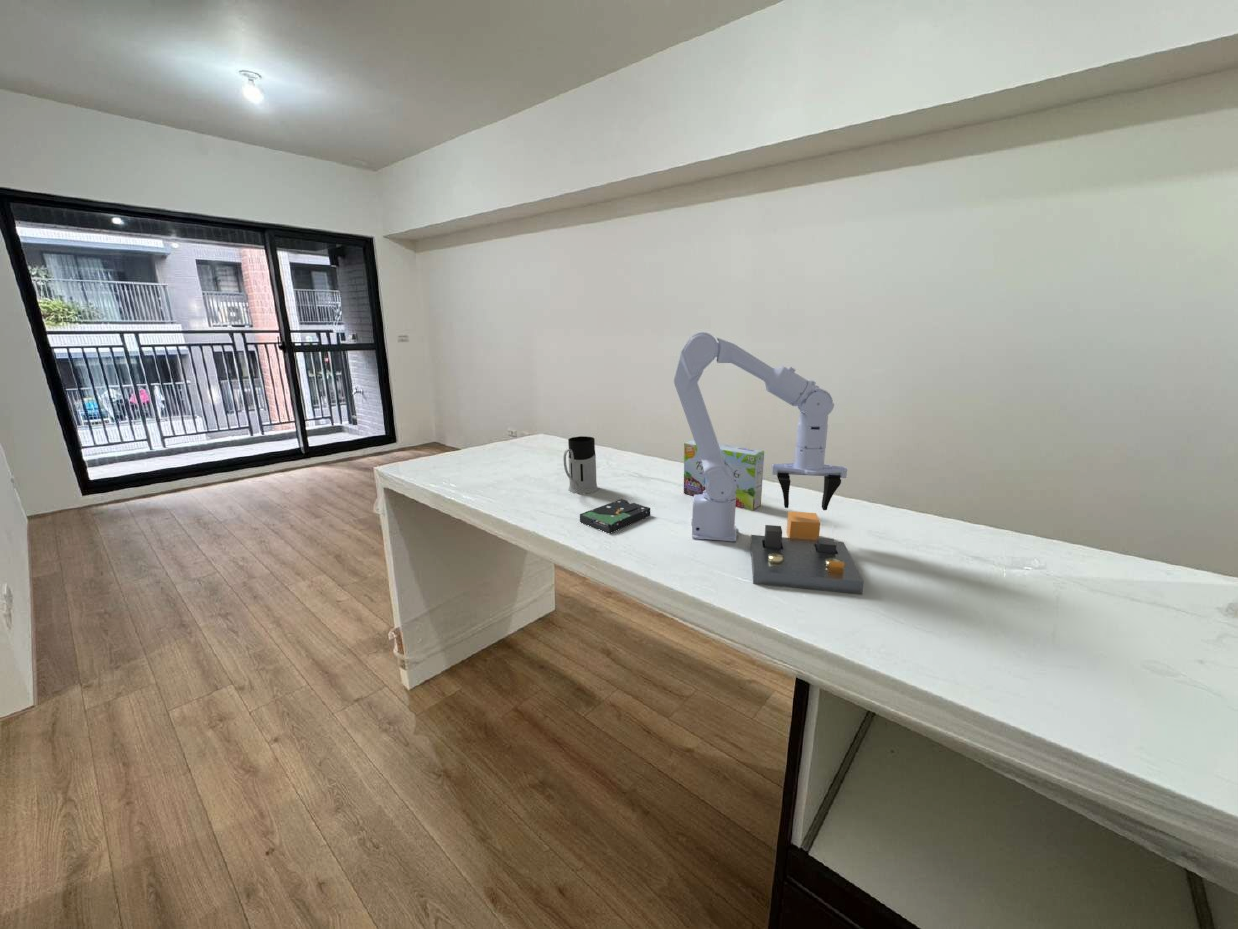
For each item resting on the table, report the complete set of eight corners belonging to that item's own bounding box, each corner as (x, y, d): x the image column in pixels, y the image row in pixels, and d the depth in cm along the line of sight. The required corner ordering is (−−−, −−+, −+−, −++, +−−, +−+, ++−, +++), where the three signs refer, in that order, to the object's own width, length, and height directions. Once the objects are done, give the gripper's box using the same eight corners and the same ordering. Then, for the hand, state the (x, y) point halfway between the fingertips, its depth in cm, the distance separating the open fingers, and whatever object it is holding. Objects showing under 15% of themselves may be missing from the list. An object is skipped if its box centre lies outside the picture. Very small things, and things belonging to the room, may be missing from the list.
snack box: (682, 494, 132) (683, 442, 128) (692, 489, 136) (694, 438, 132) (752, 511, 119) (756, 453, 115) (762, 505, 123) (766, 449, 119)
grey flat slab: (753, 583, 85) (754, 560, 84) (750, 545, 100) (751, 526, 99) (861, 594, 81) (865, 570, 80) (842, 553, 96) (844, 532, 95)
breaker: (764, 549, 94) (766, 530, 92) (764, 543, 96) (765, 524, 95) (780, 550, 93) (782, 531, 92) (779, 544, 96) (780, 525, 95)
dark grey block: (817, 562, 92) (819, 543, 91) (815, 555, 95) (817, 537, 94) (834, 564, 91) (836, 545, 90) (831, 557, 94) (833, 538, 93)
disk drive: (620, 508, 124) (578, 524, 114) (620, 498, 123) (578, 513, 113) (651, 518, 117) (609, 536, 107) (651, 507, 117) (609, 524, 106)
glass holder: (603, 486, 140) (601, 437, 136) (580, 501, 128) (578, 447, 124) (577, 483, 144) (575, 435, 140) (552, 497, 131) (549, 445, 127)
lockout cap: (789, 542, 101) (791, 521, 100) (786, 532, 106) (788, 511, 105) (818, 545, 100) (820, 523, 98) (813, 534, 105) (815, 513, 104)
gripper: (775, 449, 95) (770, 511, 99) (853, 451, 92) (845, 516, 96) (772, 441, 102) (768, 500, 105) (845, 443, 99) (838, 504, 102)
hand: (804, 507), depth 101 cm, fingers open, 7 cm apart
